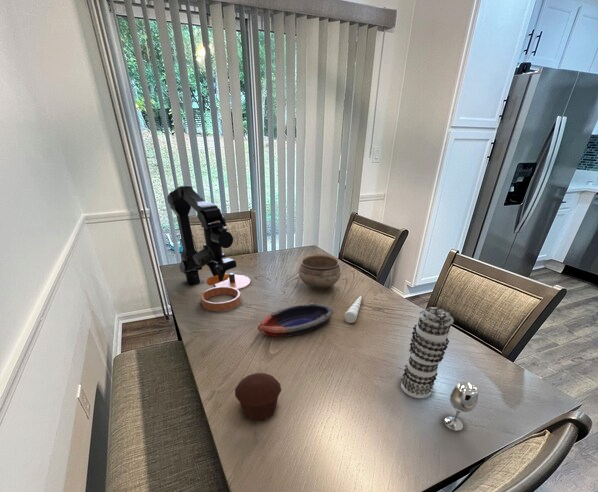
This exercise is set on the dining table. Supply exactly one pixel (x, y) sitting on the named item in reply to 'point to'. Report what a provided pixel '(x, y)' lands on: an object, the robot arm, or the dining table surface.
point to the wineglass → (461, 403)
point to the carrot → (216, 279)
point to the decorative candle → (426, 351)
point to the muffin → (258, 395)
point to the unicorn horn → (353, 311)
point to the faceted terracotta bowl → (222, 305)
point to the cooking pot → (319, 270)
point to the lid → (235, 282)
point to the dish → (295, 320)
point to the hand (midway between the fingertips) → (218, 280)
